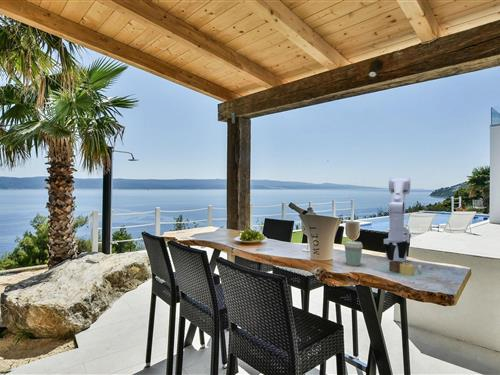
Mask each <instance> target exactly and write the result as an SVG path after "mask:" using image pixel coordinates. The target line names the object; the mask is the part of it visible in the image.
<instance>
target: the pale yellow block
mask: <svg viewBox="0 0 500 375" xmlns="http://www.w3.org/2000/svg"><path fill="white" fill-rule="evenodd" d="M414 270H415V265H413V264H412V263H405V262H403V264H400V273H401V274H402V275H409V276H411V275H414Z"/></svg>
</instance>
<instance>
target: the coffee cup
mask: <svg viewBox="0 0 500 375" xmlns="http://www.w3.org/2000/svg"><path fill="white" fill-rule="evenodd" d="M343 246H344V251H345V263H346V265H348V266H351V267H359V266H360V265H361V260H362V253H363V248H364V245H363V243H362V242H361V241H357V240H355V241H354V240H348V241H345V243H344V245H343Z"/></svg>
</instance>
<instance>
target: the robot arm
mask: <svg viewBox="0 0 500 375" xmlns="http://www.w3.org/2000/svg"><path fill="white" fill-rule="evenodd" d="M388 191H389V193H390V194H391V195H390V196H391V197H390V202H389V203H388V216H389V217H388V218H389V229H388V237H387V238H383V242H382V246H383V248H384V250H385V259H387V260H388V261H399V262H407V253H408V252H407V251H408V249H409V247H410V246H411V242H410V230H409V229H408V228H407V227H406V226H405V214H406V202H405V200H406V196H407V195H408V194H410V192H411V178H410V177H389V178H388Z"/></svg>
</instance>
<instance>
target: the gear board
mask: <svg viewBox="0 0 500 375" xmlns="http://www.w3.org/2000/svg"><path fill="white" fill-rule="evenodd" d="M368 268H370V269H373V270H376V271H379V272H382V273H386V274H391V275H394V276H398V277H400V278H404V279H409V280H411V281H415V280H416V281H417V280H420V279H421V280H422V279H425V278H430V277H436V276H437V274H432V273H429V272H426V271H422V265H420V264H417V269H414V275H411V276H409V275H402V274H401V273H400V272H392V271H389V263H386V264H380V265H379V264H378V265H374V266H373V265H372V266H368Z"/></svg>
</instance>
